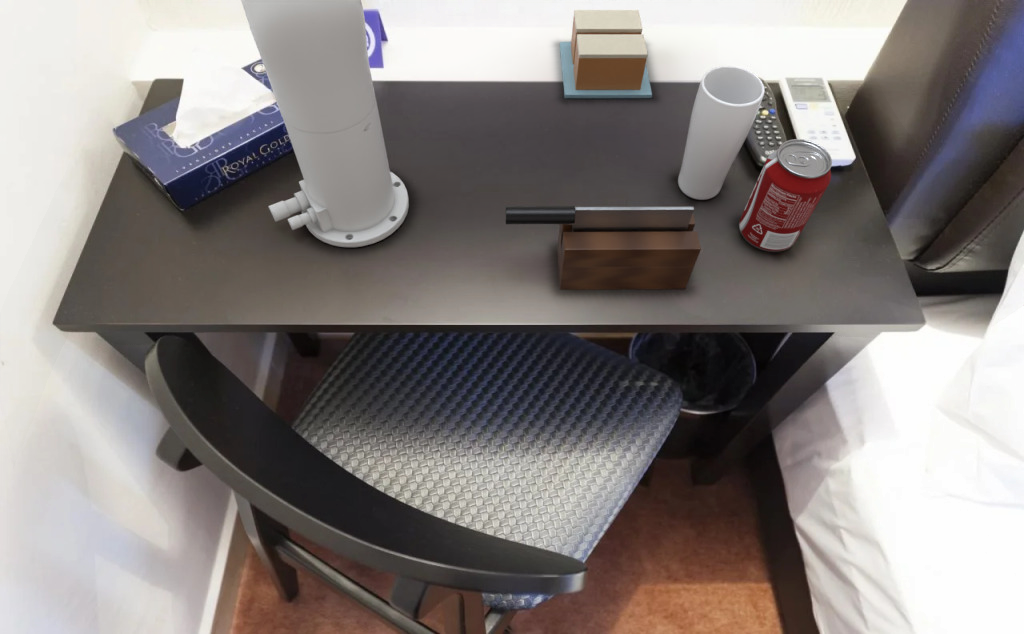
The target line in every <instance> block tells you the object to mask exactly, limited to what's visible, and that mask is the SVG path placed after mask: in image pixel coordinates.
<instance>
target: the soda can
mask: <svg viewBox="0 0 1024 634" xmlns="http://www.w3.org/2000/svg"><path fill="white" fill-rule="evenodd" d="M832 167H833V159H832V157H831V154H830V153H829V152H828V150H827V149H826V148H824V147H823V146H822V145H820V144H818V143H817V142H814V141H812V140H809V139H802V138H794V139H789V140H786V141H784V142H782V143H781V144H780V145H779V147H778V148H777V149H775V150H774V151H773V152H771V153H770V154H769V155H768V156H767V158H766V160H765V162H764V164H763V167H762V169H761V171H760V174H759V176H758V178H757V180H756V182H755V185H754V186H753V189H752V191H751V194H750V196H749V198H748V200H747V202H746V205H745V207H744V210H743V212H742V214H741V216H740V218H739V222H738V228H739V232H740V234H741V236H742V238H743V239H744V240H745V241H746V242H747V243H748V244H749V245H751V246H753V247H754V248H756V249H758V250H761V251H764V252H770V253H779V252H783V251H787V250H789V249H790V248H792V247H793V246H794V245H795V244H796V242H797V241H798V239H799V237H800V236H801V234H802V232H803V230H804V228H805V227H806V225H807V223H808V221H809V220H810V218H811V216H812V214H813V213H814V211H815V210H816V208H817V206H818V204H819V202H820V201H821V199H822V198H823V195H824V194H825V192H826V190H827V188H828V187H829V185H830V183H831V180H832V172H831V168H832Z"/></svg>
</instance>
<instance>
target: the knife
mask: <svg viewBox="0 0 1024 634" xmlns="http://www.w3.org/2000/svg"><path fill="white" fill-rule="evenodd" d="M694 211H695V207H694V206H575V205H545V206H544V205H533V206H532V205H530V206H529V205H526V206H524V205H521V206H519V205H517V206H509V205H508V206H505V225H560V224H573V227H572V232H675V231H687V228H688V225H689V222H690V219H691V216H692V214H693V215H694Z"/></svg>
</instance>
